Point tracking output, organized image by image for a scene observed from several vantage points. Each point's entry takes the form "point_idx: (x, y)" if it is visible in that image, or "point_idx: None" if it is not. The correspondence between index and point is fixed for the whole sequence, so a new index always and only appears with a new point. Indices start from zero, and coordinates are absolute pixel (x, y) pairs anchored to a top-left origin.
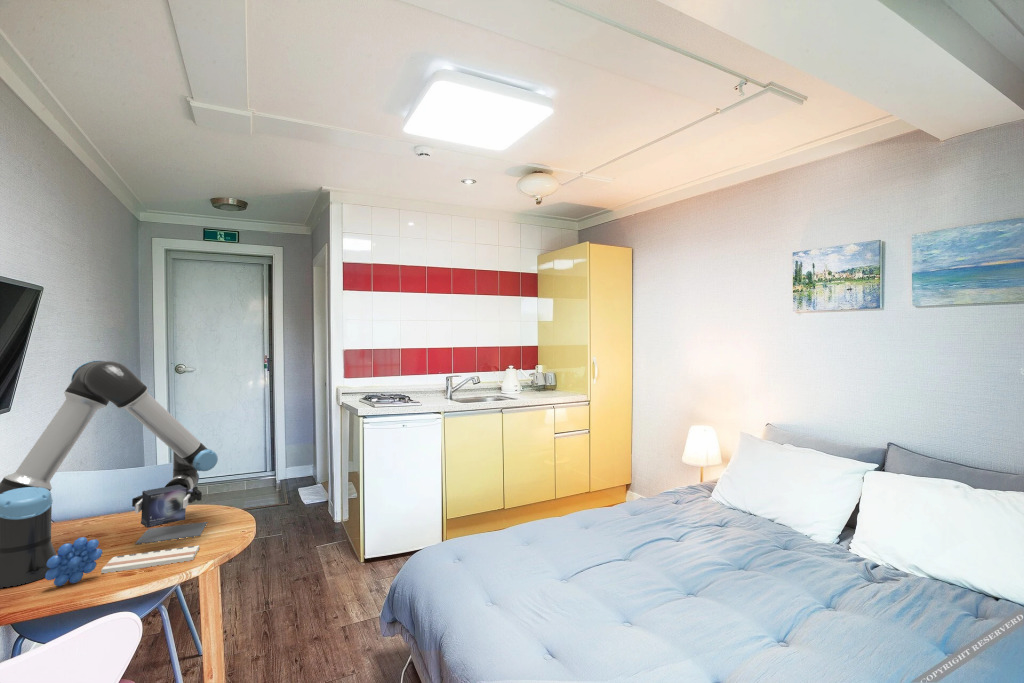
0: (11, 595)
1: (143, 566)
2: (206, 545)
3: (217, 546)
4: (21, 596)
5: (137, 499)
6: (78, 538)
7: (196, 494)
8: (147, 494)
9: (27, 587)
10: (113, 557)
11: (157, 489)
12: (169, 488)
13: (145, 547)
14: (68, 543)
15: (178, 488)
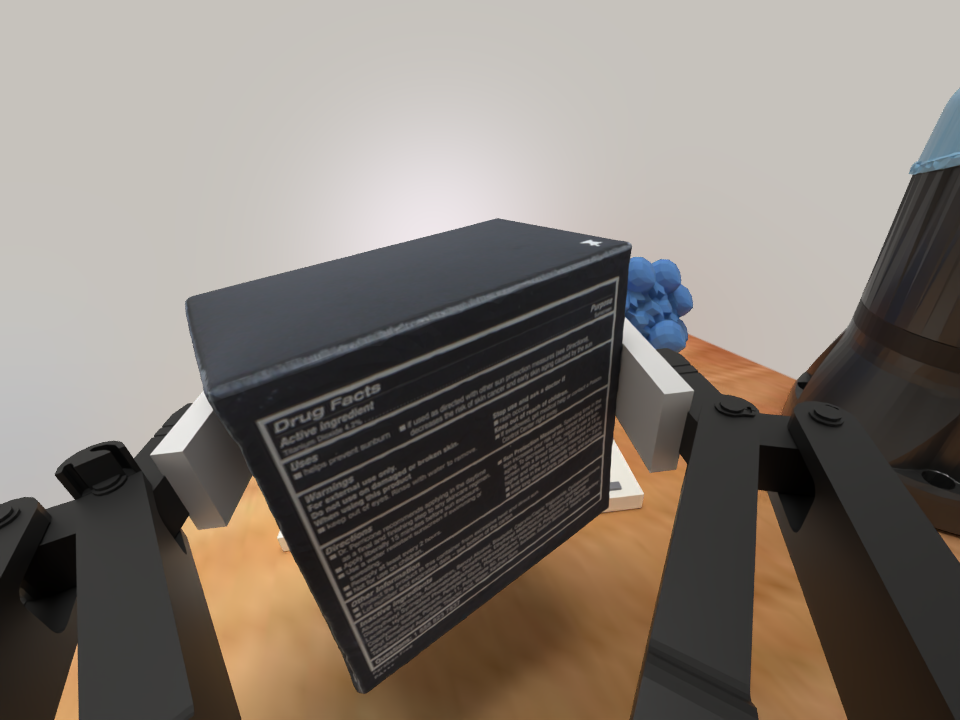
0: (745, 361)
1: None
2: (240, 597)
3: (196, 566)
4: (708, 355)
5: (793, 438)
6: (642, 257)
7: (49, 543)
8: (517, 222)
9: (757, 385)
10: (637, 488)
11: (489, 257)
12: (365, 274)
13: (594, 672)
14: (659, 261)
15: (270, 282)
